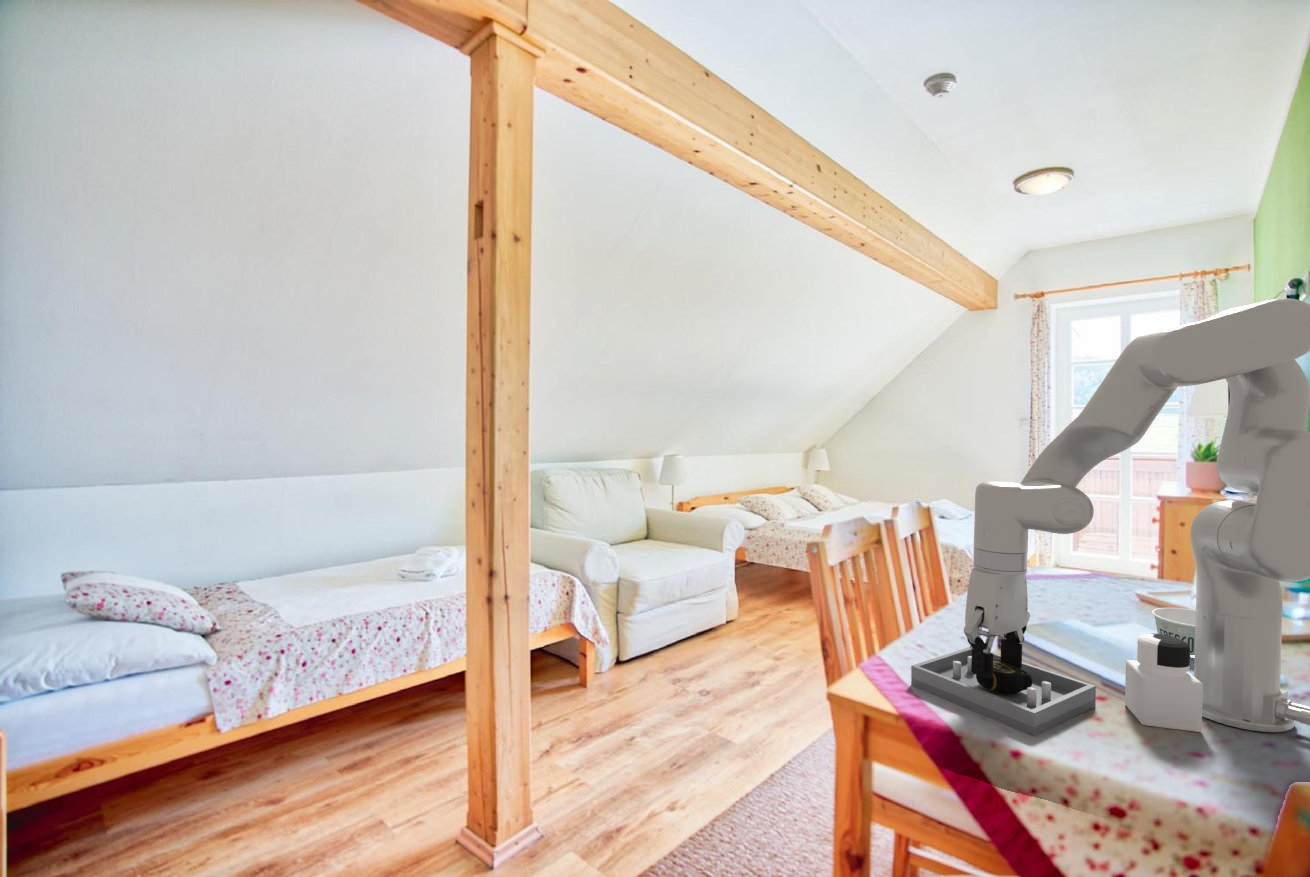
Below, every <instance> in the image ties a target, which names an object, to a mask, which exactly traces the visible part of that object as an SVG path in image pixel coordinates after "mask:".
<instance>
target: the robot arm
mask: <svg viewBox="0 0 1310 877" xmlns="http://www.w3.org/2000/svg"><path fill="white" fill-rule="evenodd" d="M1309 352H1310V304H1309V303H1307V302H1305V301H1303V300H1300V299H1295V298H1288V297H1287V298H1286V297H1285V298H1276V299H1275V298H1274V299H1270V300H1265V301H1261V302H1257V303H1252V304H1248V305H1243V306H1239V307H1233V308H1230V309H1226V310H1223V311H1221V312H1218V313H1216V314H1213V315H1211V316H1209V317H1208V318H1206V319H1203V320H1199V321H1196V322H1191V323H1187V324H1183V325H1179V326H1171V327H1168V328H1164V329H1160V330H1154V331H1150V332H1146V333H1144V334H1141V335H1139V336H1137V337H1136V338H1134V339H1133V340H1132V341H1130V342H1129V343H1128V344H1127V346H1126V347H1125V348H1124V350H1122V352H1121V353H1120V355H1119V357H1118V358H1117V359H1116V360H1115V362H1114V364H1112V367H1111V368H1110V370H1109V371H1108V372H1107V374H1106V376H1105V377H1104V379H1103V380H1102V381H1101V383H1100V384H1099V386H1098V387H1097V388H1096V391H1095V392H1094V393H1093V395H1092V396H1091V397H1090V399H1089V401H1087V404H1086V405H1085V407H1083V409H1082V410H1081V412H1080V413H1079V415H1078V416H1077V417H1076V418H1075V419H1073V420H1072V421H1071V422H1070V423H1069V424H1068V425H1067V426H1066V427H1065V428H1064V429H1063V430H1062V431H1061V432H1060V433H1059V434H1058V435H1057V436H1056V437H1055V438H1054V439H1053V440H1051V441H1050V443H1049V444H1048V445H1047V446H1046V447H1045V448H1044V449H1043V450H1042V452H1040V454H1039V455H1038V457H1037V458H1036V459H1035V461H1034V462H1033V464H1032V465H1031V467H1030V468H1029V469H1028V471H1027V473H1026V474H1025V475H1024V477H1023V478H1022V480H1021V482H1020V483H1017V482H1012V481H999V480H997V481H995V480H992V481H983V482H980V483H979V484H978V485H977V486H976V488H975V491H974V492H975V493H974V528H973V529H974V530H973V557H972V559H973V560H972V561H973V563H972V564H973V565H972V567H973V568H972V569H971V572H970V576H969V581H968V583H967V584H968V586H967V590H966V592H967V594H966V602H965V615H964V616H965V617H964V625H965V626H964V627H963V634H964V635H965V637H966V639H967V642H968V643H969V647H970V648H971V649H972V664H971V671H972V673H973V674H976V675H979V676H981V677H984V678H987V679H992V678H993V653H994V652H993V653H990V652H992V648H993V645H994V642H995V638H996V637H1000V636H1003V637H1002V638H1000V655H1001V659H1000V660H1001V661H1003V662H1005V663H1008V664H1011V665H1013V666H1015V667H1017V668H1019V669H1020V668H1021V667H1022V662H1023V643H1025V636H1024V635H1025V633H1026V632H1027V625H1028V624H1029V623H1028V622H1029V621H1030V617H1031V613H1030V612H1029V611H1028V609H1029V608H1028V606H1029V605H1028V603H1029V601H1028V598H1029V597H1028V582H1027V574H1028V551H1029V550H1028V548H1029V530H1033V531H1039V532H1040V531H1041V532H1046V533H1051V534H1059V535H1069V534H1074V533H1075V534H1076V533H1077V532H1080V531H1082V530H1084V529H1085V528H1087V527H1088V526H1089V525H1090V523H1091V522H1092V520H1093V518H1094V513H1095V511H1094V510H1095V509H1094V505H1093V502H1092V501H1091V498H1090V497H1089V496H1088V495H1087V494H1086V493H1085V492H1084V491H1082V490H1080V489H1079V488H1077V486H1078V485H1079V484H1080V482H1081V481H1082V480H1083V479H1084V477H1085V476H1086V475H1087V474H1088V473H1089V472H1090V471H1091V470H1093V469H1094V468H1095V467H1096V466H1098V464H1100V463H1102V462H1104V461H1105V460H1107V459H1109V458H1111V457H1113V456H1115V455H1117V454H1120V453H1122V452H1125V451H1126V450H1128V449H1130V448H1131V447H1134V445H1136V444H1137V443H1138V442H1140V441H1141V439H1142V438H1143V437H1144V435H1145V434H1146V432H1147V431H1148V429H1149V428H1150V427H1151V425H1152V424H1153V422H1154V421H1155V419H1156V418H1157V416H1158V415H1159V414H1160V412H1161V410H1162V409H1163V408H1164V407H1165V405H1166V404H1167V402H1168V401H1169V400H1170V398H1171V397H1172V395H1173V394H1174V393H1175V391H1176V390H1177V388H1178V387H1180V388H1181V387H1192V386H1198V385H1203V384H1207V383H1212V382H1218V381H1221V380H1225V381H1226V383H1227V385H1228V390H1229V401H1228V411H1227V415H1226V420H1225V425H1224V428H1223V431H1222V432H1223V433H1222V436H1221V437H1222V438H1221V442H1220V445H1219V450H1218V453H1217V459H1216V471H1217V475H1218V477H1219V478H1220V480H1221V481H1222V482H1223V483H1224V484H1225V485H1227V486H1229V487H1230V488H1232V489H1235V490H1237V491H1241V492H1245V493H1249V494H1253V495H1256V501H1255V502H1254V503H1253V502H1250V501H1244V500H1233V499H1232V500H1231V499H1230V500H1222V501H1221V500H1220V501H1217V502H1213V503H1211V504H1207V505H1206V506H1204V507H1202V508H1201V510H1199V511H1198V512H1197V514H1196V515H1195V516H1194V518H1193V520H1192V522H1191V526H1190V543H1191V550H1192V555H1193V560H1194V566H1195V567H1194V568H1195V577H1196V578H1195V584H1196V585H1195V586H1196V589H1195V593H1196V594H1195V610H1196V623H1195V659H1194V663H1193V664H1194V667H1193V668H1194V669H1193V672H1194V673H1193V676H1194V677H1195V678H1196V679H1198V680H1199V681H1200V682H1201V683H1202V684H1203V703H1202V718H1205V719H1207V720H1210V721H1213V722H1216V723H1219V724H1222V725H1226V726H1229V727H1235V728H1237V729H1243V730H1249V731H1255V732H1264V733H1283V732H1288V731H1290V730H1293V728H1294V726H1295V722H1298V723H1300V724H1302V725H1303V724H1304V725H1305V726H1310V706H1308V705H1304V704H1298V703H1295V702H1293V701H1292V700H1291V699H1289V697H1288V696H1289V695H1288V690H1286V689H1283V688H1281V672H1282V671H1281V667H1282V637H1283V636H1282V635H1283V634H1282V633H1283V613H1284V612H1283V611H1284V601H1283V593H1282V587H1281V583H1280V582H1287V583H1289V582H1291V583H1292V582H1293V583H1295V582H1297V583H1298V582H1303V581H1306V580H1309V579H1310V431H1309V430H1307V429H1306V428H1307V423H1308V415H1309V409H1310V383H1309V381H1308V380H1309V379H1308V378H1307V375H1306V373H1305V372H1304V370H1303V369H1302V367H1301V365H1300V364H1299V363H1298V361H1297V360H1296V359H1299V358H1300V357H1302V356H1305V355H1307V353H1309ZM983 629H986V630H988V631H985V630H983ZM981 636H982V637H983V636H984V637H986V639H985V641H984V640H983V639H982V637H981Z"/></svg>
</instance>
